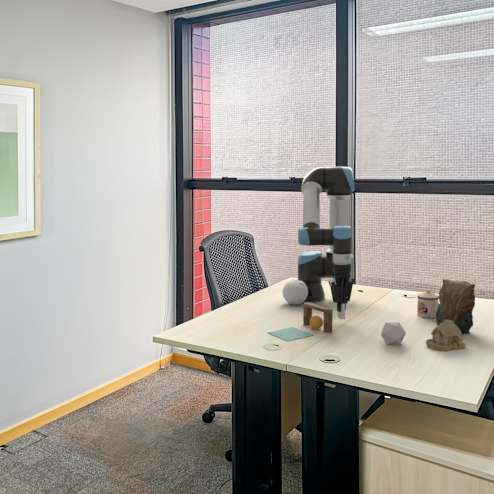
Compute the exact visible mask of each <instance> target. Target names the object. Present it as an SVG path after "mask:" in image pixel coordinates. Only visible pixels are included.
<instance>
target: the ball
mask: <svg viewBox="0 0 494 494" xmlns="http://www.w3.org/2000/svg"><path fill="white" fill-rule="evenodd" d="M309 326H310V327H311V329H314V330H319V329H321V328H322V327H323V318H322V317H321V316H320V315H312V317H311V319H310V325H309Z"/></svg>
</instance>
